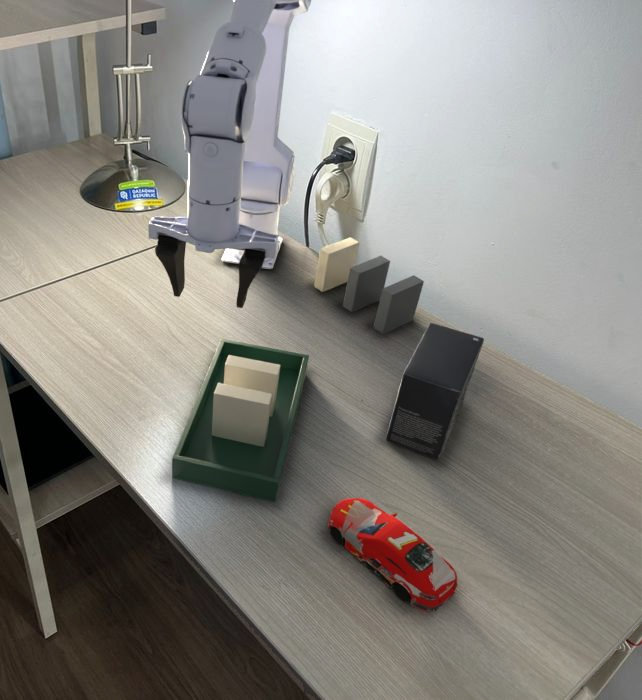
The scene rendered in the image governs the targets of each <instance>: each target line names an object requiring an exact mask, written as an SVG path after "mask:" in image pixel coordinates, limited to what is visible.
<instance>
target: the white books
mask: <svg viewBox="0 0 642 700" xmlns="http://www.w3.org/2000/svg"><path fill="white" fill-rule="evenodd" d="M280 366H281V365H278V364H273V363H268V362H263V361H258V360H252V359H247V358H242V357H237V356H232V355H228V358H227V361H226V363H225V372H224V384H221V383H218V384H217V387H216V389H215V392H214V401H213V419H212V436H216V437H221V438H225V439H230V440H234V441H239V442H243V443H248V444H252V445H257V446H261V447H264V445H265V441H266V437H267V431H268V423H269V416H271V417H272V416H273V412H274V408H275V403H276V395H277V388H278V380H279V373H280Z"/></svg>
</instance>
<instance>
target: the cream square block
mask: <svg viewBox="0 0 642 700" xmlns="http://www.w3.org/2000/svg"><path fill="white" fill-rule="evenodd" d="M359 245H360V241H357V240H356V239H354V238H353V237H348V238H345V239H342V240H340V241H337V242H334V243H331V244H329V245H326V246H323V247H321V248H319V254H318V261H317V267H316V273H315V279H314V285H313V286H314V288H316V289H317V290H319V291H320V292H322V293H323V292H326V291H328V290H331V289H333V288H335V287H338V286H340V285H343V284H347V281H348V276H349V271H350V268H351V267H353V266H356V261H357V256H358V251H359Z"/></svg>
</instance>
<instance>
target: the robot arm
mask: <svg viewBox="0 0 642 700" xmlns="http://www.w3.org/2000/svg"><path fill="white" fill-rule="evenodd" d="M232 1H233V5H232V8H231V13H230V18H229V21H228V22H225V23H223V24H222V25H220V26H219V27H218V28H217V30H216V31H215V32H214V34H213V37H212V40H211V43H210V45H209V48H208V52H207V54H206V58H205V60H204V62H203V65H202V68H201V71H200V73H199V74H198V75H196V77H194V80H193V79H189V80H188V81H187V82H186V84H185V87H184V91H183V93H182V94H183V95H182V100H181V101H182V102H181V113H180V116H181V117H180V120H181V122H180V123H181V127H182V128H181V129H182V133H183V139H184V152H185V153H186V154H188V171H187V172H188V173H187V174H188V175H187V177H188V178H187V216H157V215H154V216H152V218H151V219H150V221H148V224H147V225H148V229H147V230H148V239H149V240H155V241H157V243H156V245H155V248H154V253H155V256H156V258H158V260H159V261H160V263H161V264H162V267H163V268H164V269H165V272H166V274H167V276H168V279H169V281H170V285H171V288H172V292H173V293H172V294H173V296H174V297H177V298H180V297H181V295H182V293H183V291H184V289H185V281H186V274H185V273H186V271H185V258H186V248H187V243H188V244H190V245H193V246H194V249H195V251H196V252H199V253H207V254H212V253H214V252H215V250H224V253H223V255H222V257H221V261H222V262H224V263H228V264H229V263H230V264H235V265H238V290H237V296H236V308H238V309H243V308H244V305H245V303H246V300H247V295H248V291H249V289H250V286H251V285H252V283H253V281H254V280H255V278H256V276H257V275H258V274H259V272H260V271H261V269H266V270H272V269H273V268H274V265H275V263H276V260H277V257H278V254H279V252H280V248H281V246H282V243H283V237H281V236H280V235H279V234H278V227H279V220H280V219H279V218H280V210H281V209H280V208H281V207H285V206H286V205H287V204H288V203H289V202H290V198H291V194H292V190H293V185H294V178H295V177H294V176H295V154H294V153H295V152H294V151H293V150H292V149H291V147H289V146H288V145H287V144H286V143H285V142H284V141H283V140H281V139H280V137H279V136H278V135H279V126H280V117H281V109H282V99H283V89H284V80H285V73H286V72H285V71H286V64H287V63H286V62H287V53H288V44H289V35H290V28H291V26H292V23H293V21H294V19H295V17H296V16H297V15H298V16H299V15H301V14H305V13H307V12H308V11H309V8H310V6H311V3H312V0H232Z"/></svg>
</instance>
